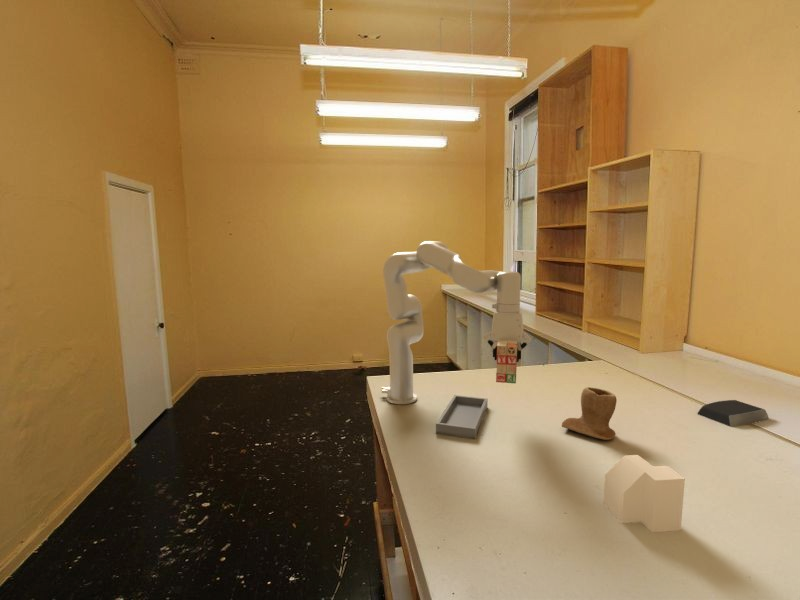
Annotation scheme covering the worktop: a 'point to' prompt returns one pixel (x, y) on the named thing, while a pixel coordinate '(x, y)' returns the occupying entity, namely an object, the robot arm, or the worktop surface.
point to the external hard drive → (733, 413)
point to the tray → (462, 417)
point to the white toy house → (645, 494)
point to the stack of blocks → (506, 361)
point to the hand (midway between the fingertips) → (506, 359)
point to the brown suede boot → (594, 414)
